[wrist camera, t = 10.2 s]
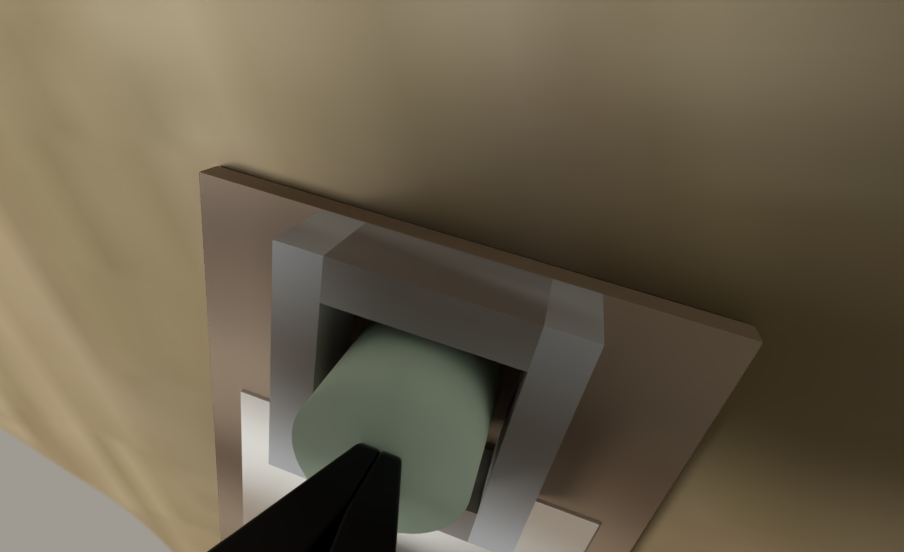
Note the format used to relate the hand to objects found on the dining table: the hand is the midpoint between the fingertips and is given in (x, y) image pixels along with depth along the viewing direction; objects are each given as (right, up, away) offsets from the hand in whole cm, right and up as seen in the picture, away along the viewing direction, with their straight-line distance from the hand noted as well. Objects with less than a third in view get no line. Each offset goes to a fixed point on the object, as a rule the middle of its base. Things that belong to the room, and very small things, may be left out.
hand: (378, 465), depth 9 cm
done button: (+1, +1, +2) cm, 3 cm away
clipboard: (0, -4, +6) cm, 8 cm away
